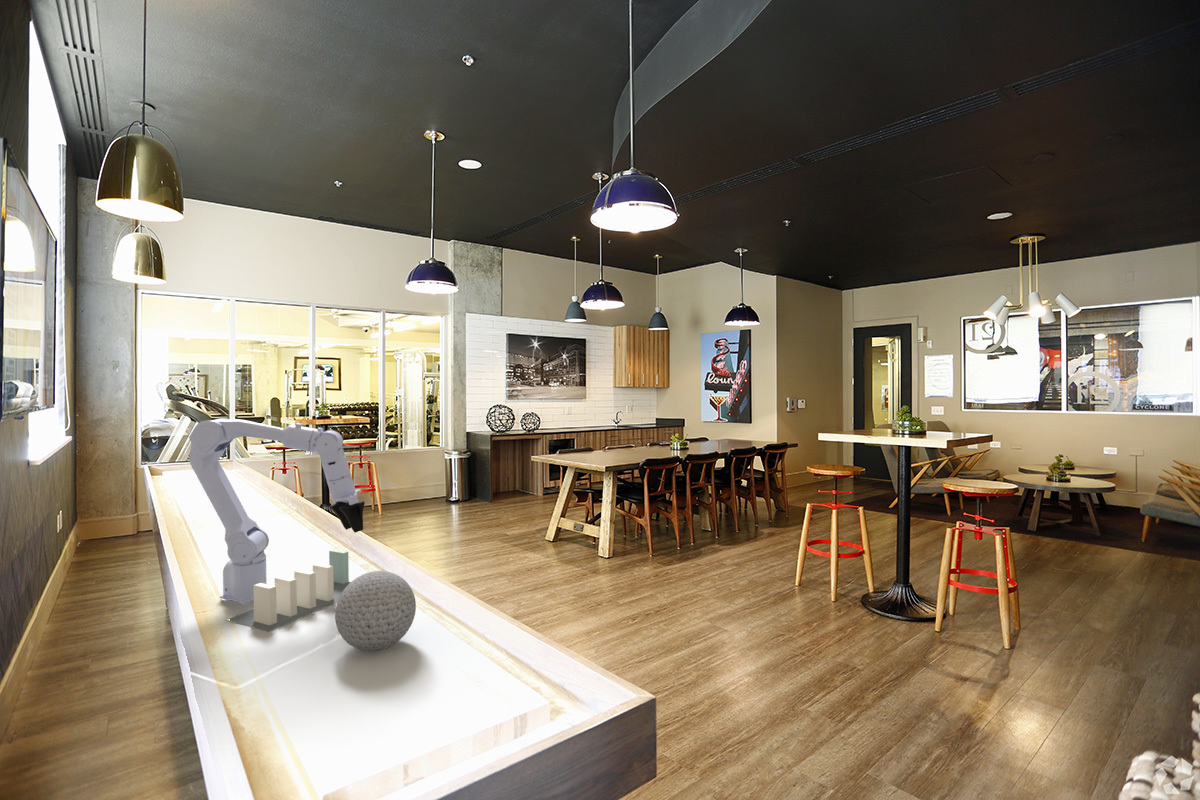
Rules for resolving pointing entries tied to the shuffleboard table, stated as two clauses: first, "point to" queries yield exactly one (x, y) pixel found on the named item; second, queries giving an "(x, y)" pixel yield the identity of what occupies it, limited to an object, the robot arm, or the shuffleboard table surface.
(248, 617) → the slate mat
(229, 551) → the robot arm
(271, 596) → the domino
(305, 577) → the domino
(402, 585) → the decorative ball
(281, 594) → the domino
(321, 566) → the domino
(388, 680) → the shuffleboard table surface
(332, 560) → the domino
